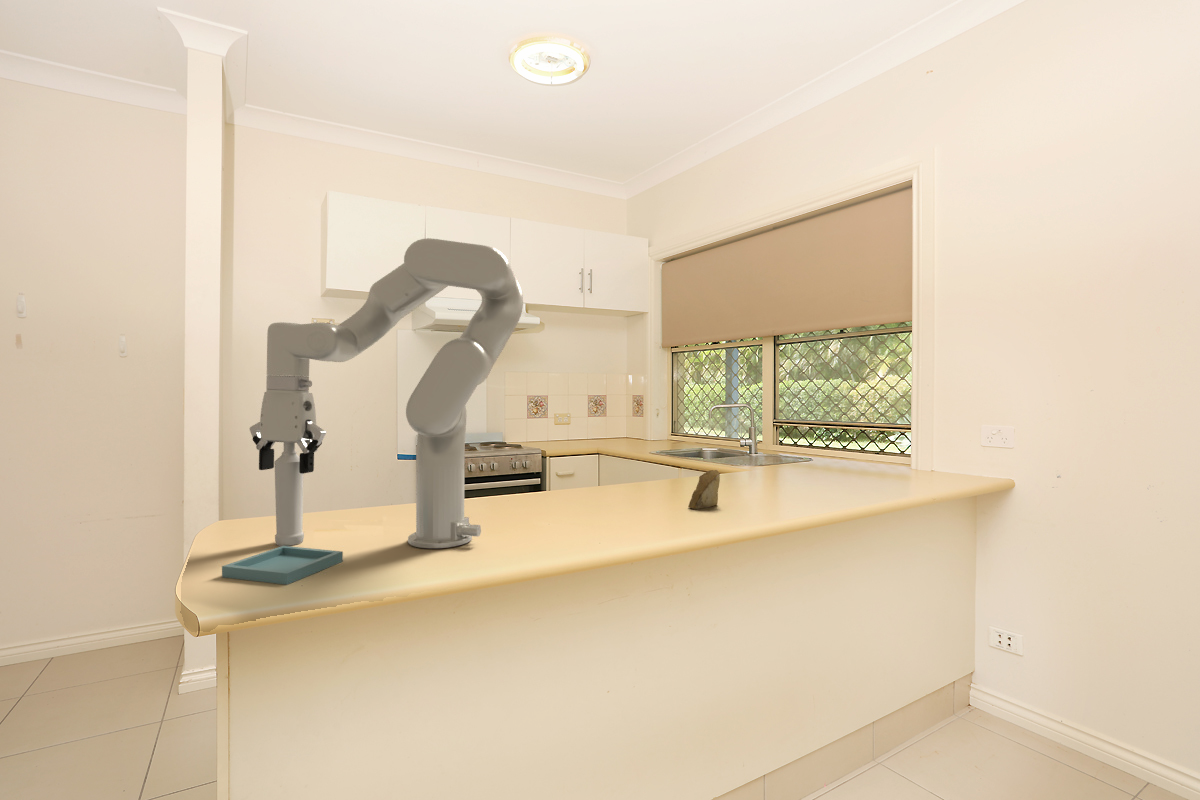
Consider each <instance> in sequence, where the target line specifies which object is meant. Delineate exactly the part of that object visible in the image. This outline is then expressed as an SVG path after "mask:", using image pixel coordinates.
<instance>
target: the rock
mask: <svg viewBox="0 0 1200 800" xmlns="http://www.w3.org/2000/svg"><path fill="white" fill-rule="evenodd" d="M720 478H721V476H720V472H719V471H718V469H710V470H708V471H706V472H704V473H703V474H701V475H700V476H699V478H698V482H697V485H696V487H695V490H694V491H693V493H692V495H691V498H690V500H689V503H688V508H690V509H692V510H700V509H703V508H704V509H705V508H709V507H713V506H717V505H718V504H719V503H718V501H719V487H720V483H721V482H720V480H721V479H720Z"/></svg>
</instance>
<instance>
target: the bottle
mask: <svg viewBox="0 0 1200 800" xmlns="http://www.w3.org/2000/svg"><path fill="white" fill-rule="evenodd" d="M299 461H300V455H298V453H297V451H296V443H285V442H283V451H282V452H281V455H280V456H279V457H278V458H277V459H276V460H274V489H275V490H274V491H275V492H274V493H275V524H276V526H275V529H276V534H275V535H274V542H275V544H276V545H277V546H278V547H281V546H291V547H292V546H295V545H296V546H297V545H299V544H302V543H303V542H304V538H305V532H304V531H303V516H304V515H303V514H304V510H303V509H304V474H302V473H300V472H299Z"/></svg>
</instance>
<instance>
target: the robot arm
mask: <svg viewBox="0 0 1200 800" xmlns="http://www.w3.org/2000/svg"><path fill="white" fill-rule="evenodd" d="M448 286H449V287H455V288H463V289H469V290H476V291H477V292H478V293H479V294H480V296H481V303H480V305H479V307H478V309H477V310H476V311H475V313H474V314H473V316H472V317H471V319H470V321H469V323H468V324H467V326H466V328H465V329H464V331H463V332H462V334H461V335H460V336H459V337H457V338H454V339H451V340H449V341H447V342H446V343H445V344H444V345H443V346H441V348H440V349H439V350H438V351H437V353H436V354H435V355H434V357H433V359H432V361H431V362H430V364H429V366H428V367H427V368H426V370H425V371H424V373H423V375H422V377H421V378H420V380H419V381H418V383H417V385H415V386H416V387H415V388H414V389H413V391H412V393H411V394H410V396H409V398H408V401H407V403H406V406H405V407H406V408H405V416H406V420H407V423H408V425H409V426H410V428H412V430H413V431H414V432H416V433H417V436H416V437H417V438H416V449H415V450H416V451H415V453H416V457H415V459H416V460H415V462H416V463H415V465H416V466H415V467H416V468H415V469H416V472H415V477H416V478H415V481H416V482H415V488H416V490H415V491H416V493H415V495H416V496H415V498H416V499H415V500H416V502H415V504H416V505H415V506H416V507H415V508H416V510H415V511H416V512H415V513H416V514H415V516H416V518H415V519H416V520H415V523H416V524H415V527H416V530H415V532H413V533H411V534H409V536H408V537H407V543H408V545H410V546H412V547H415V548H420V549H446V548H453V547H458V546H462V545H465V544H467V543H470V542H471V541H472V539H473V537H480V536H481V533H482V529H481V525H480V524H471V523H470V517H469V516H468V517H467V516H465V465H466V464H465V455H466V454H465V451H466V449H465V444H466V429H467V408H466V407H467V406H466V405H467V404H468V402H469V400H470V399H471V396H472V395H473V393H474V392H475V390H476V389H477V387H478V386H479V385H481V384H482V383H483V382H485V380H486V379H487V378H488V376H489V375H490V373H491V372H492V369H493V367H494V365H495V364H496V362H497V360H498V358H499V357H500V355H501V354H502V353H503V350H504V348H505V347H506V345H507V343H508V342H509V339H510V338H511V336H512V334H513V332H514V331H515V330H516V328H517V325H518V323H519V321H520V319H521V316H522V314H523V313H522V312H523V308H524V307H523V306H524V297H523V296H524V295H523V291H522V287H521V285H520V283H519V281H518V278H517V277H516V274H515V273H514V271H513V269H512V266H511V264H510V262H509V260H508V258H507V257H506V255H505V254H504V253H503V252H502V251H500V250H499V249H497V248H495V247H493V246H492V247H491V246H488V245H483V244H476V243H468V242H462V241H461V242H459V241H454V240H453V241H452V240H447V239H446V240H445V239H440V238H439V239H438V238H429V237H427V238H420V239H417V240H416V241H414V242H412V243H411V244H410V245H409V246H408V247H407V249H406V251H405V252H404V256H403V263H402V264H401V265H399V266H397V267H396V268H395V269H393V270H392V271H390V272H389V273H388V274H385V276H383V277H381V278H380V279H378V280H377V281H375V282H374V283H373V284H372V285H371V287H370V289H369V291H368V296H367V299H366V301H365V302H364V303H363V305H362V306H361V308H359V310H357V311H356V312H355V313H354V314H352V315H351V316H349V317H348V318H346V319H345V320H344V321H343V322H341V323H339V324H338V325H337V324H333V323H329V322H311V323H301V324H300V323H297V322H281V321H280V322H273V323H271V324H269V325H268V327H267V333H266V335H267V336H266V338H267V339H266V384H265V385H266V386H265V387H266V390H265V391H264V392H263V393H264V394H263V398H262V401H261V408H260V416H259V417H260V420H259V422H257V423H255V424H253V425H251V426H249V432H250V434H251V437H252V441H253V443H254V444H255V445H256V446H255V448H256V450H257V451H258V470H260V471H266V470H271V469H275V449H274V448H273V446H274V445H275V443H284V442H285V443H295V444H297V445H298V447H299V448H300V450H301V453H299V457H300V461H299V472H300V473H302V474H303V475H305V474H310V473H313V472H314V469H315V467H314V466H315V453H317V451H318V448H320V446H321V445H322V443H323V440H324V438H325V437H326V432H327V431H325V430H324V429H323V428H322V427H320V426H318V425H317V413H316V405H315V400H314V396H313V393H312V392H310V388H312V385H313V381H312V380H311V379H310V360H315V361H319V362H320V361H321V362H327V363H328V362H330V363H331V362H332V363H333V362H334V363H345V362H348V361H349V360H353V359H354V358H355V357H357V356H358V355H360V354H362V353H363V352H364V351H365V350H367V349H368V348H370V347H372V346H374V344H376V343H377V342H378V341H380V339H382V338H383V337H385V336H386V335H387V333H389V332H390V331H391V329H393V328H394V327H395V326H396V325H397V324H398V323H399V322H400V320H402V319H403V318H404V317H406V316H407V315H409V314H410V313H411V312H413V311H415V310H416V309H417V308H419V307H420V306H422V305H423V304H425V303H426V302H427V301H429V300H431V299H432V298H433V297H436V295H437V294H439V293H440V292H442V291H443V290H445V289H446V288H448Z"/></svg>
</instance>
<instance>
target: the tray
mask: <svg viewBox="0 0 1200 800" xmlns="http://www.w3.org/2000/svg"><path fill="white" fill-rule="evenodd" d="M343 554H344V552H343V551H341V550H331V549H321V548H320V549H319V548H310V547H299V546H292V545H291V546H278V547H276V548H273V549H269V550H266V551H264V552H261V553H257V554H255V555H252V556H248V557H246V558H243V559H240V560H236V561H233V562H231V563H227V564H224V565H221V577H222V578H227V579H234V580H246V581H253V582H260V583H261V582H262V583H270V584H278V585H284V586H285V585H286V586H287V585H290V584H293V583H295V582H297V581H300V580H301V579H304V578H306V577H309V576H311V575H314V574H316V573H319V572H320V571H323V570H325V569H327V568H330V567H333V566H336V565H338V564H339V563H342V562H343V561H344V559H343V557H344V555H343Z"/></svg>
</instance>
